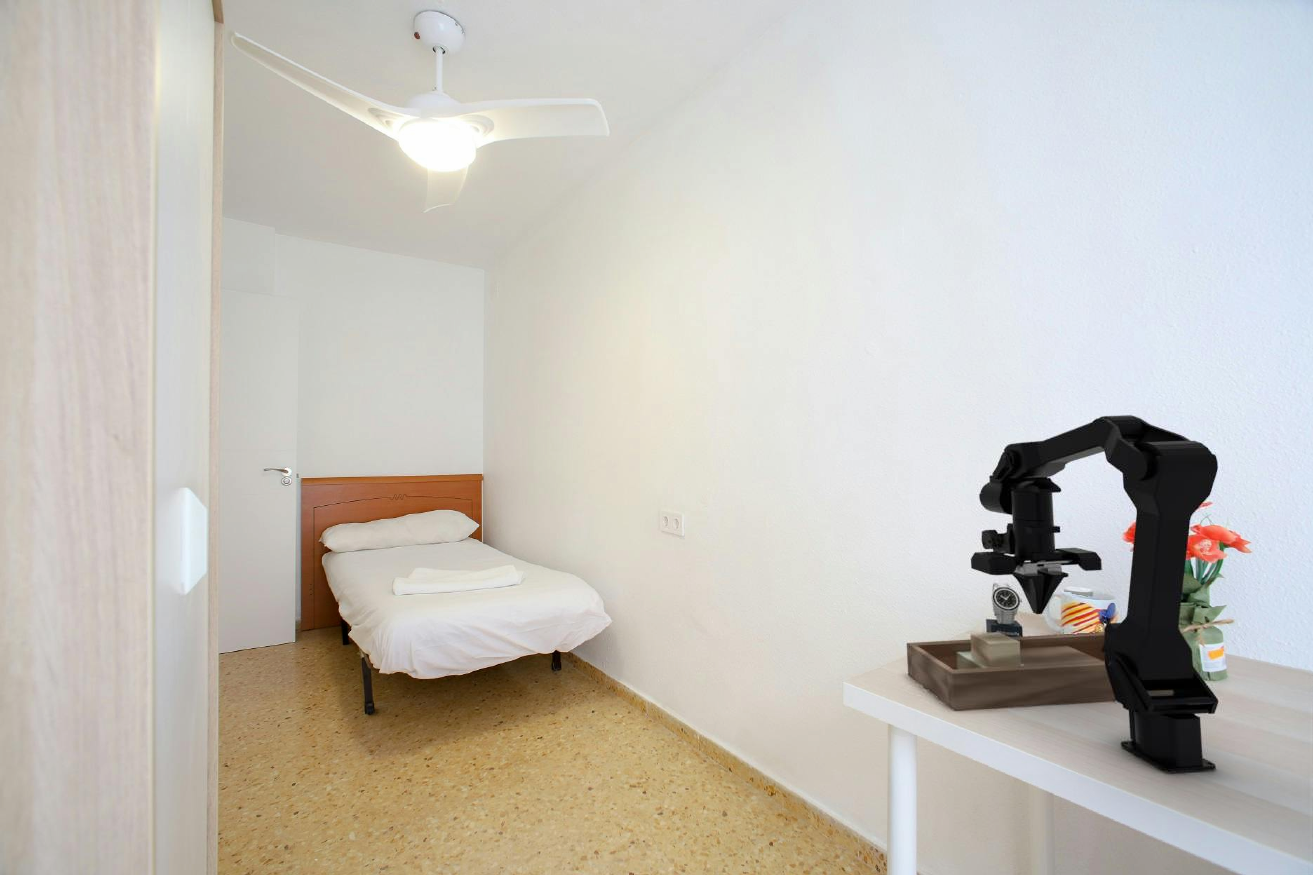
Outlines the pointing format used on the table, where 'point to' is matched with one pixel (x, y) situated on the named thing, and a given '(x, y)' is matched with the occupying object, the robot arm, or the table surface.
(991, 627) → the watch
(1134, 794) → the table surface
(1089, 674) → the tray
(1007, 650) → the maple block
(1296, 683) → the table surface
